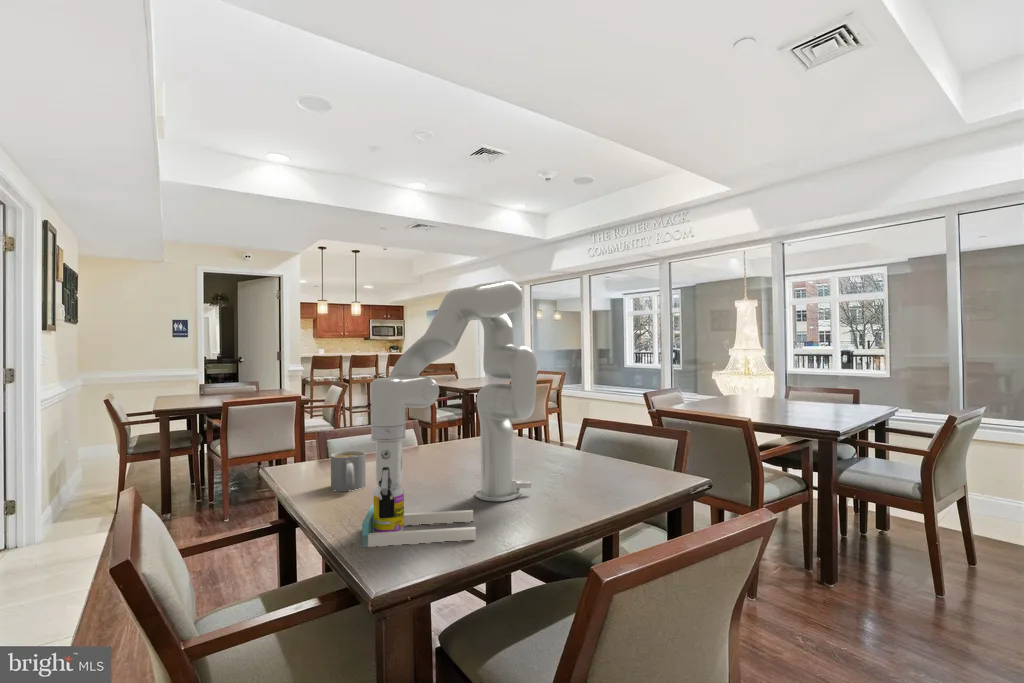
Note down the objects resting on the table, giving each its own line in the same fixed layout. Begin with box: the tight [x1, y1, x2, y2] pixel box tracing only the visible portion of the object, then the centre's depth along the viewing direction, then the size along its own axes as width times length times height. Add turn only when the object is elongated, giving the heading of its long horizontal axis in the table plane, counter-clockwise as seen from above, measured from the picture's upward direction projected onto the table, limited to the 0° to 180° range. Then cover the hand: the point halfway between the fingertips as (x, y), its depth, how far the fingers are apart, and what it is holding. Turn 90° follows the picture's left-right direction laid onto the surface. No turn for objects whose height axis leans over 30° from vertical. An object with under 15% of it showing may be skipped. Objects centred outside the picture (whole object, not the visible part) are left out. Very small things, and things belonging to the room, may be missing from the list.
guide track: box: [361, 504, 477, 548], centre depth 110 cm, size 24×12×5 cm, turn 98°
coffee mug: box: [330, 450, 366, 492], centre depth 145 cm, size 13×10×10 cm
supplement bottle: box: [373, 482, 405, 533], centre depth 109 cm, size 7×7×13 cm
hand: (388, 511), depth 109 cm, fingers closed on supplement bottle, 6 cm apart
